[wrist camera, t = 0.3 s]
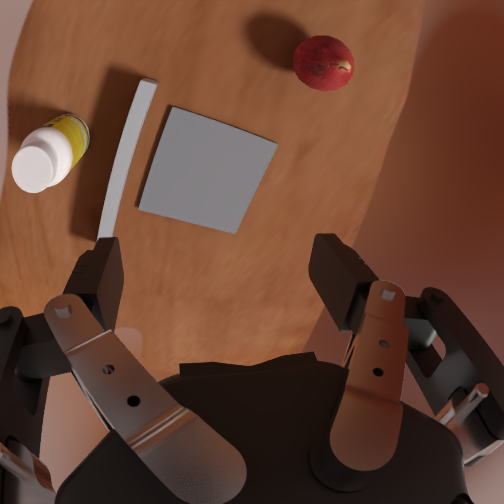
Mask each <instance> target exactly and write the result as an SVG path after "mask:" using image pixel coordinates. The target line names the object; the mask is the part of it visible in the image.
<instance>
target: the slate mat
mask: <svg viewBox="0 0 504 504" xmlns="http://www.w3.org/2000/svg"><path fill="white" fill-rule="evenodd" d="M277 146H278V144H277V143H275V142H272V141H270V140H267V139H265V138H262V137H260V136H257V135H255V134H252V133H250V132H247V131H244V130H242V129H239V128H236V127H233V126H231V125H228V124H225V123H222V122H220V121H217V120H214V119H211V118H208V117H205V116H202V115H199V114H196V113H193V112H190V111H187V110H184V109H180V108H177V107H174V106H173V107H172V109H171V112H170V114H169V117H168V120H167V122H166V125H165V128H164V130H163V133H162V136H161V139H160V142H159V144H158V147H157V150H156V153H155V156H154V159H153V162H152V165H151V168H150V171H149V175H148V178H147V181H146V184H145V188H144V191H143V194H142V198H141V201H140V205H139V208H138V210H142V211H146V212H150V213H154V214H158V215H162V216H166V217H170V218H174V219H178V220H182V221H186V222H190V223H194V224H198V225H202V226H206V227H209V228H213V229H217V230H221V231H225V232H229V233H233V234H235V233H236V231H237V229H238V227H239V225H240V223H241V221H242V218H243V216H244V214H245V212H246V210H247V208H248V206H249V204H250V202H251V200H252V197H253V195H254V193H255V191H256V189H257V187H258V185H259V183H260V181H261V179H262V177H263V175H264V173H265V170H266V168H267V166H268V164H269V162H270V160H271V158H272V156H273V154H274V152H275V150H276V148H277Z"/></svg>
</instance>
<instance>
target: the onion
mask: <svg viewBox="0 0 504 504" xmlns="http://www.w3.org/2000/svg"><path fill="white" fill-rule="evenodd" d="M292 61H293V70H294V71H295V73H296V75H297V76H298V78H299V80H301V81H302V82H303V83H305V84H306V85H308V86H309V87H310V88H313V89H317V90H321V91H330V90H336V89H339V88H340V87H342V86H344V85H346V84H347V83H348V81H349V80H350V79H351V77H352V75H353V71H354V59H353V57H352V54H351V52H350V50H349V49H348V48H347V47H346V46H345V45H344V44H343V43H342V42H341V41H340V40H338V39H335V38H333V37H330V36H313V37H311V38H308V39H306V40H303V41H302V42H301V43H300V44H299V45H298V46H297V47H296V50H295V52H294V55H293V57H292Z"/></svg>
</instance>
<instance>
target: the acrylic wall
mask: <svg viewBox="0 0 504 504" xmlns="http://www.w3.org/2000/svg"><path fill="white" fill-rule="evenodd" d="M158 83H159V82H158V81H154V80H151V79H147V78H144V79H142V80H141V81H140V83H139V86H138V89H137V91H136V94H135V97H134V100H133V103H132V106H131V108H130V111H129V114H128V117H127V121H126V124H125V127H124V130H123V133H122V137H121V140H120V143H119V147H118V150H117V154H116V157H115V161H114V165H113V169H112V173H111V177H110V181H109V185H108V189H107V193H106V198H105V202H104V207H103V212H102V217H101V222H100V227H99V232H98V238H97V241H98V239H99V238H100V237H112V236H113V231H114V227H115V222H116V218H117V213H118V209H119V205H120V201H121V197H122V193H123V189H124V186H125V182H126V178H127V175H128V171H129V168H130V164H131V161H132V157H133V154H134V151H135V148H136V144H137V141H138V138H139V135H140V132H141V129H142V126H143V123H144V120H145V117H146V115H147V112H148V109H149V106H150V104H151V101H152V98H153V96H154V93H155V90H156V88H157V85H158Z"/></svg>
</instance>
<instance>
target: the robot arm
mask: <svg viewBox="0 0 504 504" xmlns="http://www.w3.org/2000/svg"><path fill="white" fill-rule="evenodd" d="M309 277H310V280H311V281H312V283H313V285H314V287H315V288H316V290H317V292H318V294H319V295H320V297H321V299H322V301H323V302H324V304H325V306H326V307H327V309H328V311H329V313H330V315H331V316H332V318H333V320H334V322H335V324H336V325H337V327H338V329H339V331H340V332H343V331H349V330H352V332H353V334H352V336H351V339H350V341H349V345H348V348H347V351H346V354H345V357H344V360H343V363H342V366H339V365H336V364H333V363H329V362H323V361H317V359H316V356H315V354H314V352H307V353H299V354H292V355H283V356H280V357H277V358H274V359H272V360H269V361H266V362H263V363H260V364H257V365H253V366H243V365H234V364H226V363H218V362H204V363H182V364H179V366H180V374H177V375H173V376H170V377H168V378H165V379H163V380H161V381H159V382H156V380H155V379H154V378H153V377H152V376H151V375H150V374H149V373H148V371H147V370H146V369H145V368H144V367H143V366H142V365H141V364H140V363H139V361H138V360H137V359H136V358H135V357H134V356H133V355H132V354H131V352H130V351H129V350H128V349H127V348H126V347H125V345H124V344H123V343H122V342H121V341H120V340H119V338H118V337H117V336H116V335H115V333H114V330H115V324H116V319H117V314H118V309H119V304H120V299H121V294H122V290H123V285H124V273H123V266H122V259H121V253H120V246H119V240H118V238H117V237H100V238H99V239H98V241H97V243H96V245H95V247H94V249H93V250H87V251H86V252H85V253H84V254H82V255H81V256H80V257H79V259H78V261H77V263H76V265H75V267H74V269H73V271H72V274H71V276H70V278H69V280H68V282H67V284H66V287H65V289H64V291H63V294H62V295H59V296H56V297H54V298H53V299H51V300H50V301H49V302H48V303H47V304H46V306H45V308H44V313H41V314H37V315H33V316H29V317H23V314H22V312H21V310H20V309H19V308H17V307H13V306H9V307H4V308H2V309H0V504H474V503H473V502H472V501H471V499H470V497H469V495H468V492H467V487H466V482H465V474H464V466H467V467H470V466H473V465H475V464H477V463H478V462H479V461H481V460H482V459H483V458H485V457H486V456H487V455H488V454H490V453H491V452H492V451H494V450H495V449H496V448H497V447H499V446H500V445H501V444H502V443H503V442H504V366H503V365H502V363H501V362H500V361H499V359H498V358H497V356H496V355H495V354H494V352H493V351H492V349H491V348H490V347H489V346H488V344H487V343H486V342H485V340H484V339H483V338H482V336H481V335H480V334H479V332H478V331H477V330H476V329H475V327H474V326H473V325H472V324H471V322H470V321H469V320H468V319H467V317H466V316H465V315H464V314H463V312H462V311H461V310H460V309H459V308H458V306H457V305H456V304H455V303H454V302H453V300H452V299H451V298H450V297H449V296H448V295H447V294H446V293H445V292H443V291H441V290H439V289H437V288H433V287H427V288H425V289H423V291H422V294H421V295H420V298H417V297H410V296H405V293H404V292H403V290H402V289H401V288H400V287H399V286H398V285H396V284H394V283H392V282H389V281H385V280H379V279H378V277H377V276H376V275H375V274H374V273H373V271H372V270H371V269H370V268H369V267H368V266H367V265H366V264H365V262H364V261H363V260H362V259H361V257H360V256H359V255H358V254H357V253H356V251H354V250H353V249H352V248H350V247H349V246H347V245H345V244H343V243H342V241H341V240H340V239H339V238H338V237H337V236H336V234H334V233H318V234H316V236H315V238H314V243H313V248H312V253H311V257H310V262H309ZM436 334H438V336H439V337H440V338H441V340H442V341H443V343H444V344H445V347H446V355H445V357H444V359H443V360H442V359H441V357H440V356H439V354H438V353H437V351H436V350H435V348H434V347H433V345H432V344H431V343H432V341H433V339H434V338H435V336H436ZM406 364H407V365H408V367H409V369H410V371H411V373H412V374H413V376H414V378H415V380H416V381H417V383H418V385H419V387H420V389H421V391H422V392H423V394H424V396H425V398H426V400H427V402H428V404H429V406H430V407H431V409H432V411H433V413H434V415H435V417H436V420H434V419H433V418H430V417H429V416H427V415H425V414H423V413H422V412H420V411H418V410H416V409H415V408H413V407H411V406H409V405H407V404H406V403H404V402H402V401H401V394H402V387H403V381H404V373H405V365H406ZM68 372H71V374H72V376H73V378H74V379H75V381H76V382H77V384H78V385H79V387H80V389H81V391H82V392H83V394H84V395H85V397H86V398H87V400H88V401H89V403H90V404H91V406H92V407H93V409H94V410H95V412H96V413H97V415H98V416H99V418H100V419H101V421H102V423H103V424H104V425H105V426H106V428H107V430H108V431H109V433H108V434H107V435H106V436H105V437H104V438H103V439H102V440H101V441H100V443H99V444H98V445H97V446H96V447H95V448H94V449H93V450H92V451H91V452H90V453H89V454H88V456H87V457H86V458H85V459H84V460H83V461H82V462H81V463H80V464H79V466H77V468H76V469H75V470H74V471H73V472H72V473H71V474H70V475H69V476H68V477H67V478H66V479H65V480H64V482H63V483H62V484H61V486H60V487H59V489H58V491H57V494H56V492H55V491H54V489H53V486H52V481H51V475H50V472H49V470H48V468H47V466H46V465H45V464H44V463H43V462H42V461H41V460H40V459H39V453H40V442H41V433H42V424H43V417H44V410H45V403H46V397H47V391H48V386H49V380H50V376H55V375H59V374H63V373H68Z"/></svg>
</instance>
